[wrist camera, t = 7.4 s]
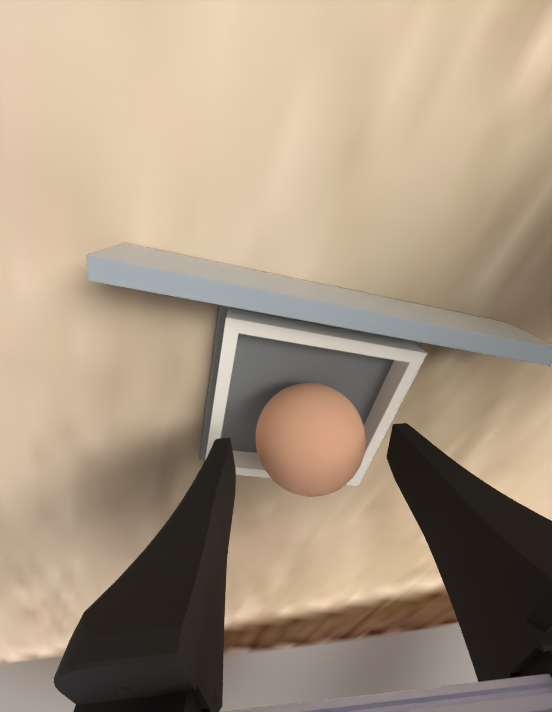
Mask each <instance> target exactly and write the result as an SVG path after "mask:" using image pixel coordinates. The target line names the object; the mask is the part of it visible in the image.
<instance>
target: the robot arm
mask: <svg viewBox="0 0 552 712" xmlns="http://www.w3.org/2000/svg"><path fill="white" fill-rule="evenodd" d="M387 460H388V463H389V465H390V468H391V471H392V473H393V476H394V478H395V481H396V483H397V485H398V486H399V488H400V490H401V492H402V494H403V496H404V498H405V500H406V502H407V504H408V506H409V508H410V509H411V511H412V513H413V515H414V517H415V519H416V521H417V523H418V525H419V526H420V528H421V530H422V532H423V534H424V537H425V539H426V541H427V543H428V545H429V548H430V550H431V553H432V555H433V557H434V560H435V562H436V565H437V567H438V569H439V572H440V575H441V577H442V580H443V582H444V585H445V587H446V590H447V592H448V595H449V598H450V600H451V603H452V606H453V609H454V611H455V614H456V617H457V620H458V622H459V625H460V628H461V631H462V633H463V637H464V639H465V643H466V645H467V648H468V651H469V654H470V657H471V660H472V663H473V666H474V669H475V673H476V675H477V679H478V682H474V683H465V684H456V685H448V686H439V687H430V688H422V689H414V690H405V691H397V692H388V693H379V694H371V695H362V696H354V697H345V698H336V699H328V700H319V701H311V702H302V703H295V704H285V705H277V706H268V707H259V708H252V709H243V710H234V711H226V712H552V521H551V520H549V519H547V518H545V517H543V516H541V515H539V514H538V513H536V512H534V511H532V510H530V509H528V508H527V507H525V506H523V505H521V504H519V503H518V502H516V501H514V500H513V499H511V498H509V497H507V496H506V495H504V494H503V493H501V492H499V491H498V490H496V489H495V488H493V487H491V486H490V485H488V484H487V483H485V482H484V481H482V480H480V479H479V478H477V477H476V476H475V475H473V474H472V473H470V472H469V471H468V470H466V469H465V468H463V467H462V466H460V465H459V464H458V463H456V462H455V461H454V460H452V459H451V458H450V457H448V456H447V455H446V454H445V453H443V452H442V451H441V450H439V449H438V448H437V447H436V446H434V445H433V444H432V443H431V442H429V441H428V440H427V439H426V438H424V437H423V436H422V435H421V434H419V433H418V432H417V431H416V430H415V429H413V428H412V427H411V426H409V425H408V424H407V423H403V424H393V427H392V432H391V437H390V442H389V447H388V452H387ZM235 483H236V468H235V462H234V456H233V450H232V444H231V438H219V439H216V440H215V441H214V443H213V445H212V447H211V450H210V452H209V454H208V456H207V458H206V460H205V462H204V464H203V466H202V468H201V469H200V471H199V473H198V475H197V477H196V478H195V480H194V482H193V484H192V485H191V487H190V488H189V490H188V492H187V493H186V495H185V496H184V498H183V499H182V501H181V503H180V504H179V505H178V507H177V508H176V510H175V511H174V513H173V514H172V515H171V517H170V518H169V520H168V521H167V522H166V524H165V525H164V526H163V528H162V529H161V530H160V531H159V533H158V534H157V535H156V536H155V538H154V539H153V540H152V541H151V543H150V544H149V545H148V546H147V547H146V549H145V550H144V551H143V552H142V553H141V554H140V555H139V556H138V558H137V559H136V560H135V561H134V562H133V563H132V564H131V565H130V566H129V567H128V569H127V570H126V571H125V572H124V573H123V574H122V575H121V576H120V577H119V578H118V579H117V580H116V581H115V582H114V583H113V584H112V585H111V586H110V587H109V588H108V589H107V590H106V591H105V592H104V593H103V594H102V595H101V596H100V597H99V598H98V599H97V600H96V601H95V602H94V603H93V604H92V605H91V606H90V607H89V608H88V609H87V610H86V611H85V612H84V613H83V615H82V617H81V619H80V621H79V623H78V625H77V627H76V629H75V631H74V633H73V635H72V637H71V639H70V641H69V643H68V646H67V648H66V651H65V653H64V655H63V658H62V660H61V662H60V665H59V667H58V670H57V672H56V674H55V677H54V684H55V687H56V688H57V689H58V690H59V691H60V692H61V693H62V694H63V695H65V696H66V697H68V698H69V699H70V700H71V701H73V702H74V703H75V704H76V706H75V709H74V712H219V711H220V709H221V707H222V691H223V688H222V687H223V647H224V615H225V590H226V568H227V554H228V545H229V537H230V530H231V522H232V515H233V507H234V499H235Z"/></svg>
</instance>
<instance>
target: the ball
mask: <svg viewBox="0 0 552 712" xmlns="http://www.w3.org/2000/svg"><path fill="white" fill-rule="evenodd" d="M365 445H366V437H365V430H364V426H363V423H362V420H361V417H360V415H359V413H358V412H357V410H356V408H355V407H354V406H353V404H352V403H351V402H350V401H349V400H348V399H347V398H346V397H345V396H344V395H343V394H341V393H340V392H338V391H337V390H335V389H333V388H331V387H328V386H326V385H323V384H318V383H300V384H295V385H292V386H289V387H287V388H285V389H283V390H281V391H280V392H278V393H277V394H276V395H275V396H273V397H272V398H271V399H270V401H269V402H268V403H267V404H266V406H265V407H264V409H263V411H262V413H261V415H260V417H259V420H258V423H257V428H256V448H257V453H258V456H259V459H260V461H261V464H262V466H263V467H264V469H265V471H266V472H267V473H268V475H269V476H270V477H271V478H272V479H273V480H274V481H275V482H276V483H277V484H278V485H279V486H281V487H283V488H284V489H286V490H288V491H290V492H292V493H295V494H298V495H302V496H312V497H313V496H322V495H327V494H330V493H332V492H335V491H337V490H339V489H340V488H342V487H343V486H344V485H346V484H347V483H348V482H349V481H350V480H351V479H352V478H353V477H354V475H355V474H356V472H357V471H358V469H359V467H360V465H361V463H362V460H363V457H364V453H365Z"/></svg>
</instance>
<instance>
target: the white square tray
mask: <svg viewBox="0 0 552 712" xmlns="http://www.w3.org/2000/svg"><path fill="white" fill-rule="evenodd" d="M421 344H422V342H418V341H412V340H407V339H401V338H396V337H391V336H385V335H380V334H374V333H369V332H364V331H358V330H353V329H347V328H342V327H337V326H331V325H326V324H320V323H315V322H310V321H304V320H299V319H294V318H288V317H283V316H277V315H272V314H267V313H261V312H256V311H250V310H245V309H240V308H234V307H229V306H223V305H219V312H218V320H217V327H216V335H215V343H214V350H213V358H212V365H211V373H210V380H209V388H208V396H207V403H206V411H205V418H204V426H203V433H202V441H201V449H200V456H199V459H203V460H206V458H207V456H208V454H209V452H210V450H211V447H212V445H213V443H214V441H215V440H216V439H219V438H231V444H232V450H233V456H234V462H235V468H236V475H242V476H253V477H264V478H271V477H270V476H269V475H268V473H267V472H266V471H265V469H264V467H263V466H262V464H261V461H260V459H259V456H258V453H257V448H256V428H257V423H258V420H259V417H260V415H261V413H262V411H263V409H264V407H265V406H266V404H267V403H268V402H269V401H270V399H271V398H272V397H273V396H275V395H276V394H277V393H278V392H280V391H281V390H283V389H285V388H287V387H289V386H292V385H295V384H300V383H318V384H323V385H326V386H328V387H331V388H333V389H335V390H337V391H338V392H340V393H341V394H343V395H344V396H345V397H346V398H347V399H348V400H349V401H350V402H351V403H352V404H353V406H354V407H355V408H356V410H357V412H358V413H359V415H360V417H361V420H362V423H363V426H364V430H365V437H366V445H365V453H364V457H363V460H362V463H361V465H360V467H359V469H358V471H357V472H356V474H355V475H354V477H353V478H352V479H351V480H350V481H349V482H348V483H347V484H346V485H351V486H359V484H360V482H361V480H362V478H363V476H364V474H365V472H366V470H367V468H368V466H369V464H370V463H371V461H372V459H373V457H374V455H375V453H376V451H377V449H378V447H379V445H380V443H381V441H382V439H383V438H384V436H385V434H386V432H387V430H388V428H389V426H390V424H391V422H392V420H393V418H394V416H395V414H396V413H397V411H398V409H399V407H400V405H401V403H402V401H403V399H404V397H405V395H406V393H407V391H408V390H409V388H410V386H411V384H412V382H413V380H414V378H415V376H416V374H417V372H418V370H419V368H420V366H421V365H422V363H423V361H424V359H425V357H426V355H427V353H426V352H425V351H424V350H423V349H422V348H420V346H421Z"/></svg>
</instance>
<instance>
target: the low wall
mask: <svg viewBox="0 0 552 712" xmlns="http://www.w3.org/2000/svg"><path fill="white" fill-rule="evenodd" d="M86 256H87V268H88V280H89V281H94V282H99V283H105V284H110V285H115V286H121V287H126V288H132V289H137V290H142V291H148V292H153V293H159V294H164V295H169V296H175V297H180V298H186V299H191V300H196V301H202V302H207V303H213V304H218V305H223V306H229V307H234V308H240V309H245V310H250V311H256V312H261V313H267V314H272V315H277V316H283V317H288V318H294V319H299V320H304V321H310V322H315V323H320V324H326V325H331V326H337V327H342V328H347V329H353V330H358V331H364V332H369V333H374V334H380V335H385V336H391V337H396V338H401V339H407V340H412V341H418V342H423V343H428V344H434V345H439V346H445V347H450V348H455V349H461V350H466V351H472V352H477V353H482V354H488V355H493V356H499V357H504V358H509V359H515V360H520V361H526V362H531V363H536V364H542V365H547V366H550V365H551V364H552V344H550V343H548V342H546V341H544V340H542V339H540V338H538V337H536V336H534V335H532V334H530V333H527V332H525V331H523V330H521V329H519V328H517V327H515V326H513V325H511V324H509V323H507V322H503V321H498V320H493V319H488V318H483V317H479V316H474V315H469V314H464V313H459V312H455V311H450V310H445V309H440V308H436V307H431V306H426V305H421V304H416V303H412V302H407V301H402V300H397V299H392V298H388V297H383V296H378V295H373V294H369V293H364V292H359V291H354V290H349V289H345V288H340V287H335V286H330V285H325V284H321V283H316V282H311V281H306V280H302V279H297V278H292V277H287V276H282V275H278V274H273V273H268V272H263V271H258V270H254V269H249V268H244V267H239V266H234V265H230V264H225V263H220V262H215V261H211V260H206V259H201V258H196V257H191V256H187V255H182V254H177V253H172V252H167V251H163V250H158V249H153V248H148V247H144V246H139V245H134V244H129V243H122V244H119V245H116V246H113V247H110V248H107V249H103V250H100V251H97V252H94V253H91V254H88V255H86Z"/></svg>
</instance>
